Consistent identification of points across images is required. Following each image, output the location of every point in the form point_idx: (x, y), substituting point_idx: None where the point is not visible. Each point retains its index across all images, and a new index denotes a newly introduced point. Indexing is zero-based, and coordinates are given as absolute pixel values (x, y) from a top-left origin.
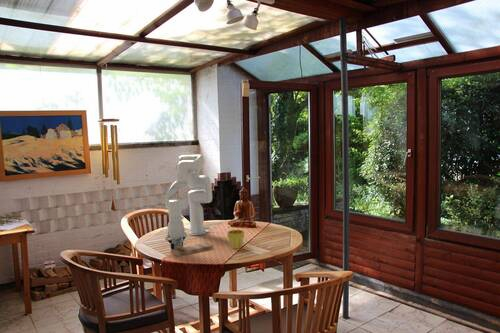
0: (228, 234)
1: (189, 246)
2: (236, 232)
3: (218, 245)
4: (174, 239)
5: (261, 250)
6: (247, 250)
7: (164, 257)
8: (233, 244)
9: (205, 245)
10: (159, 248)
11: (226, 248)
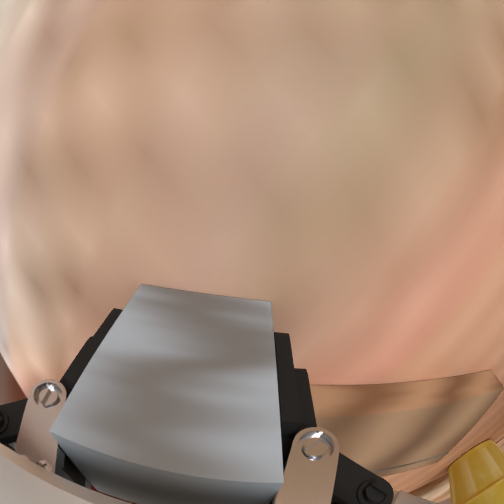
0: None
1: (342, 428)
2: None
3: (496, 405)
4: (122, 473)
5: (435, 494)
6: (428, 490)
7: (35, 382)
8: (450, 484)
9: (425, 452)
10: (85, 15)
11: (444, 460)
